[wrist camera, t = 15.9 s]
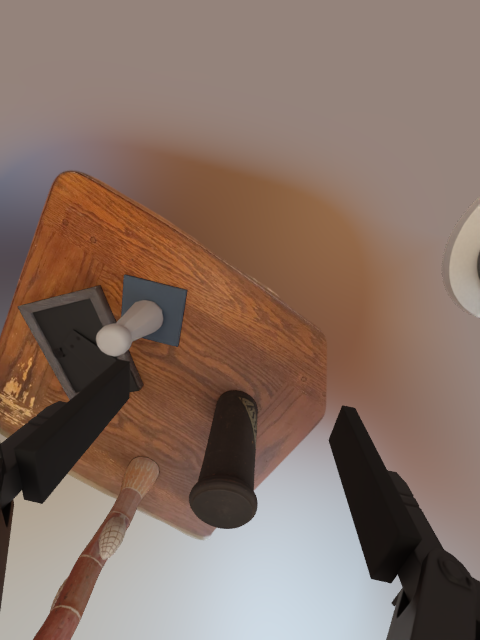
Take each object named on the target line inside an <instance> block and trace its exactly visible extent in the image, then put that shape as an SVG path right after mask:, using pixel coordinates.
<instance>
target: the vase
mask: <svg viewBox="0 0 480 640" xmlns="http://www.w3.org/2000/svg"><path fill="white" fill-rule="evenodd" d="M158 475H159V467H158V465H157V464H156V463H155V462H154V461H152V460H151V459H149V458H147V457H137V458H135V459H132V461H131V462H130V464H129V465H128V468H127V470H126V472H125V474H124V478H123V481H122V486H121V492H120V495H119V497H118V498H117V500H116V502H115V504H114V506H113V507H112V509H111V511H110V512H109V514H108V515H107V517H106V519H105V520H104V522H103V523H102V525H101V526H100V528H99V529H98V531H97V532H96V534H95V535H94V537H93V538H92V540H91V541H90V542H89V544H88V545H87V546H86V548H85V549H84V551H83V552H82V554H81V555H80V556H79V558H78V560H77V562H76V563H75V565H74V567H73V569H72V571H71V573H70V575H69V577H68V578H67V579H66V580H65V581H64V583H63V584H62V586H61V587H60V588H59V590H58V593H57V595H56V597H55V599H54V601H53V604H52V607H51V610H50V614H49V615H48V617H47V619H46V621H45V622H44V624H43V626H42V627H41V628H40V630H39V631H38V633H37V634H36V636H35V637H34V639H33V640H70V639H71V637H72V636H73V634H74V632H75V630H76V628H77V626H78V624H79V622H80V619H81V617H82V615H83V612H84V610H85V607H86V605H87V603H88V600H89V598H90V595H91V593H92V590H93V588H94V585H95V583H96V580H97V578H98V576H99V574H100V572H101V570H102V568H103V566H104V564H105V562H106V560H107V559H108V558H110V557H111V556H112V555H113V554H114V553H115V552H116V550H117V549H118V547H119V546H120V544H121V543H122V541H123V538H124V535H125V532H126V530H127V528H128V527H129V525H130V523H131V521H132V519H133V516H134V514H135V511H136V509H137V507H138V505H139V503H140V501H141V499H142V498H143V497H144V496H145V495H146V493H147V492H148V491H149V490H150V488H151V487H152V485H153V484H154V482H155V481H156V479H157V477H158Z"/></svg>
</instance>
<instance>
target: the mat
mask: <svg viewBox="0 0 480 640" xmlns="http://www.w3.org/2000/svg"><path fill="white" fill-rule="evenodd" d="M186 296H187V290H185V289H181V288H177V287H173V286H169V285H165V284H161V283H157V282H153V281H149V280H145V279H141V278H137V277H134V276H130V275H124V282H123V298H122V313H121V317H122V316H123V315H124V314H125V313H126V312H127V311H128V310H129V308H130V307H131V306H132V305H133V304H134V303H135V302H138V301H142V300H147V301H152V302H155V303H156V304H157V305H158V306H159V307H160V308H161V309H162V314H163V322H162V325H161V327H160V328H159V329H158V330H157V331H155V332H153V333H151V334H149V335H146V336H144V337H142V338H144V339H148V340H152V341H156V342H160V343H164V344H168V345H172V346H176V347H178V345H179V339H180V333H181V327H182V320H183V314H184V308H185V302H186Z"/></svg>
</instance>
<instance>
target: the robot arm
mask: <svg viewBox="0 0 480 640" xmlns="http://www.w3.org/2000/svg"><path fill="white" fill-rule="evenodd" d="M477 269H478V275H479V279H480V252H479V256H478V262H477ZM129 391H130V361H125V360H120V359H117V360H116V361H115V362H114V363H113V364H112V365H110V366H109V367H108V368H107V369H106V370H105V371H104V372H102V373H101V374H100V375H99V376H98V377H97V378H95V379H94V380H93V381H92V382H91V383H90V384H88V385H87V386H86V387H85V388H84V389H83V390H81V391H80V392H79V393H78V394H77V395H76V396H74V397H73V398H72V399H71V400H70V401H69V402H67V403H66V402H62V401H58V402H56V403H54V404H52V405H50V406H48V407H46V408H45V409H44V410H43V411H41V412H40V413H39V414H38V415H37V416H36V417H34V418H33V419H31V420H30V421H29V422H28V424H25V425H24V426H23V427H21V428H20V429H19V430H17V431H16V432H15V433H14V434H12V435H11V436H10V437H9V438H7V439H6V440H5V441H4V442H2V443H0V608H1V601H2V593H3V586H4V578H5V570H6V563H7V554H8V547H9V538H10V531H11V524H12V516H13V508H14V501H13V499H14V498H15V497H16V496H17V495H18V493H19V492H20V491H21V490H22V492H23V497H24V500H28V501H32V502H37V503H41V504H42V503H43V502H44V501H45V500H46V499H47V498H48V496H49V495H50V494H51V493H52V492H53V490H54V489H55V488H56V486H57V485H58V484H59V483H60V482H61V480H62V479H63V478H64V477H65V476H66V474H67V473H68V472H69V471H70V470H71V468H72V467H73V466H74V465H75V464H76V462H77V461H78V460H79V459H80V457H81V456H82V455H83V454H84V453H85V451H86V450H87V449H88V448H89V446H90V445H91V444H92V443H93V442H94V440H95V439H96V438H97V437H98V436H99V434H100V433H101V432H102V431H103V429H104V428H105V427H106V426H107V425H108V423H109V422H110V421H111V420H112V419H113V417H114V416H115V415H116V414H117V412H118V411H119V410H120V409H121V408H122V406H123V405H124V404H125V403H126V401H127V400H128V399H129ZM329 443H330V446H331V449H332V453H333V456H334V459H335V462H336V465H337V469H338V472H339V475H340V479H341V482H342V485H343V489H344V492H345V495H346V498H347V502H348V505H349V508H350V511H351V515H352V518H353V521H354V524H355V528H356V531H357V534H358V537H359V541H360V544H361V547H362V551H363V554H364V557H365V560H366V564H367V567H368V570H369V573H370V577H371V579H374V580H379V581H384V582H388V583H392V581H393V580H394V579H395V577H396V576H397V574H398V576H399V579H400V581H401V584H402V587H403V588H402V589H401V591H400V592H399V593H398V595H397V596H396V597H395V599H394V600H393V602H392V604H393V605H394V606H395V605H396V607H395V610H394V614H393V618H392V621H391V625H390V629H389V632H388V635H387V639H386V640H480V581H477V580H476V579H474V578H472V577H471V575H470V573H469V572H468V571H467V569H466V568H465V567H464V566H463V564H462V563H461V562H459V561H458V560H457V559H456V558H455V557H454V556H453V555H451V554H450V553H448V552H446V551H445V550H444V549H443V547H442V545H441V544H440V542H439V540H438V538H437V537H436V535H435V533H434V531H433V530H432V528H431V526H430V524H429V523H428V521H427V519H426V517H425V515H424V514H423V512H422V510H421V509H420V508H419V505H418V503H417V501H416V499H415V498H414V497H413V494H412V492H411V491H410V489H409V487H408V485H407V484H406V482H405V481H404V480H403V479H402V478H401V477H400V476H399V475H398V474H397V472H392V471H388V470H387V469H386V467H385V465H384V463H383V461H382V459H381V457H380V455H379V454H378V452H377V450H376V448H375V446H374V444H373V442H372V440H371V438H370V436H369V434H368V432H367V430H366V428H365V427H364V424H363V423H362V420H361V419H360V417H359V415H358V413H357V411H356V409H355V408H353V407H348V406H342V408H341V410H340V413H339V415H338V418H337V420H336V423H335V425H334V428H333V430H332V433H331V435H330V438H329Z"/></svg>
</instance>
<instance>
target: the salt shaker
mask: <svg viewBox="0 0 480 640" xmlns="http://www.w3.org/2000/svg"><path fill="white" fill-rule="evenodd" d="M162 322H163V314H162V309H161V308H160V307H159V306H158V305H157V304H156V303H155V302H152V301H147V300H142V301H138V302H135V303H134V304H133V305H132V306H131V307H130V308H129V310H128V311H127V312H126V313H125V314H124V315H123V316H122V317H121V318H120V319H119V320H118V321H117V323H116V324H115V323H113V324H109V325H106V326H104V327H103V328H102V329H101V330H100V331H99V332H98V333H97V336H96V342H97V345H98V347H99V348H100V350H101V351H102V352H104V353H105V354H107V355H110V356H119V355H122V354H124V353H125V352H126V351H127V350H128V349H129V348H130V347H131V344H132V342H133V341H135V340H137V339H139V338H142V337H144V336H146V335H149V334H151V333H153V332H155V331H157V330H158V329H159V328H160V327H161V325H162Z"/></svg>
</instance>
